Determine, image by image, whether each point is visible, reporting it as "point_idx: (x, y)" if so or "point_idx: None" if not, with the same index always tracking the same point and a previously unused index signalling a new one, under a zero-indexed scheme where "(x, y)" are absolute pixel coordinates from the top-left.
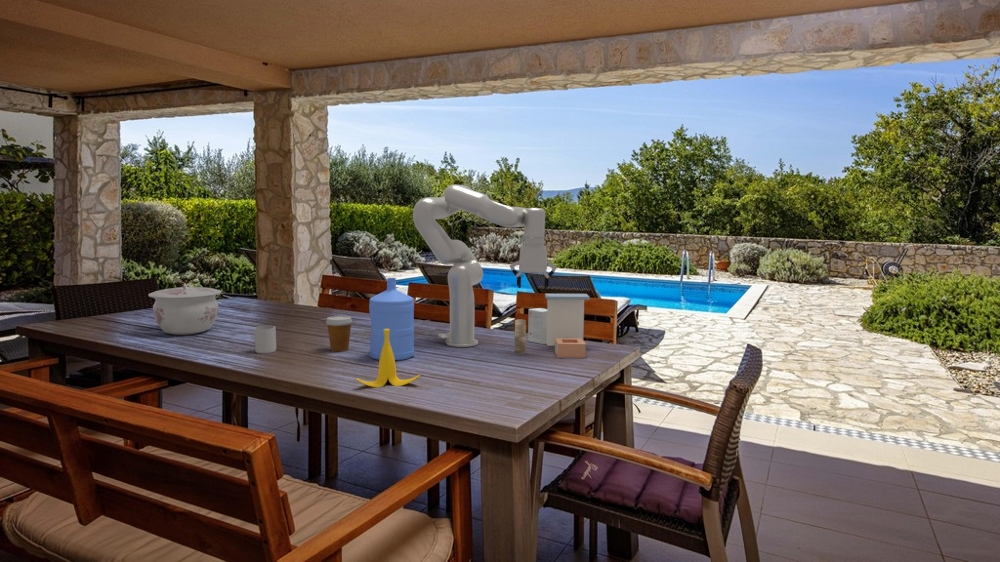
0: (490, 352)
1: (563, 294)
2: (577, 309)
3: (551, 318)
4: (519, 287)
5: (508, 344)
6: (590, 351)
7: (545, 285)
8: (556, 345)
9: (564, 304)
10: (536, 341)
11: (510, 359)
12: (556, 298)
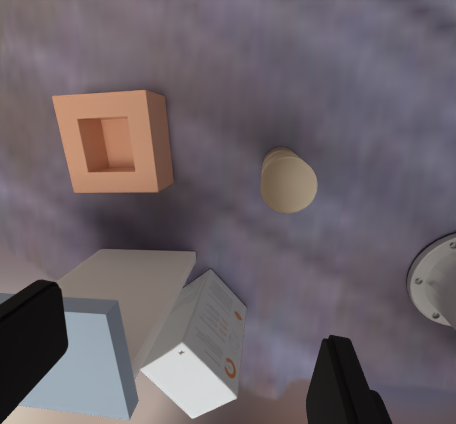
0: (381, 160)
1: None
2: None
3: (151, 301)
4: (334, 337)
5: (307, 269)
6: None
7: (16, 301)
8: (157, 135)
9: None
10: (223, 285)
11: (321, 54)
12: None
